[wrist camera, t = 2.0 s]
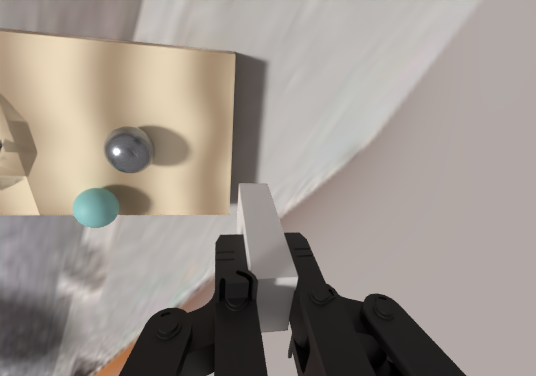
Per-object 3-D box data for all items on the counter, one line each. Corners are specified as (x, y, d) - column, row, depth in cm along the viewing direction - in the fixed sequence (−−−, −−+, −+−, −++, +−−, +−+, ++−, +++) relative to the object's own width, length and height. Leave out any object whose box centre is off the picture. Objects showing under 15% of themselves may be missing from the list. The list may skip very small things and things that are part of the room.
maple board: (233, 51, 21) (235, 54, 19) (228, 199, 27) (229, 214, 25) (-171, 11, 17) (-229, 8, 15) (-68, 197, 23) (-98, 215, 21)
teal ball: (121, 181, 22) (107, 201, 19) (126, 213, 23) (115, 235, 21) (79, 180, 21) (59, 201, 19) (87, 212, 23) (70, 236, 20)
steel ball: (157, 121, 20) (147, 136, 17) (161, 162, 22) (152, 181, 19) (109, 119, 20) (90, 134, 17) (116, 161, 21) (100, 181, 18)
